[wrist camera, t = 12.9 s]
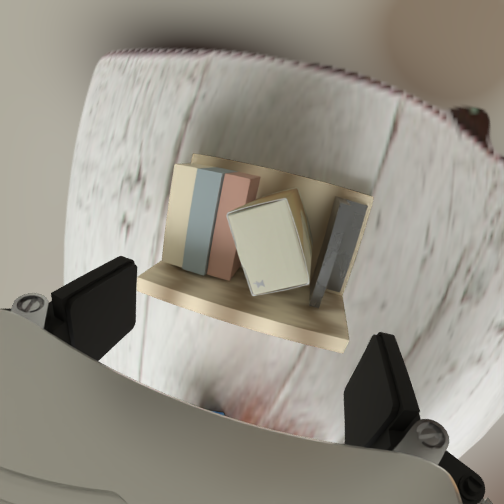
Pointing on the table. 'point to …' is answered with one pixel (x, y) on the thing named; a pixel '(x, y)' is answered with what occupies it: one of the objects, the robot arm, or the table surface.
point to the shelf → (272, 304)
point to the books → (205, 218)
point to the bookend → (336, 248)
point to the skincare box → (273, 241)
